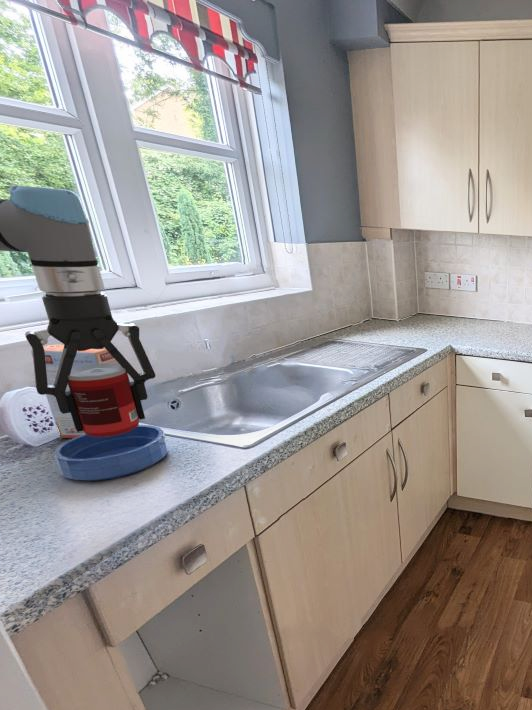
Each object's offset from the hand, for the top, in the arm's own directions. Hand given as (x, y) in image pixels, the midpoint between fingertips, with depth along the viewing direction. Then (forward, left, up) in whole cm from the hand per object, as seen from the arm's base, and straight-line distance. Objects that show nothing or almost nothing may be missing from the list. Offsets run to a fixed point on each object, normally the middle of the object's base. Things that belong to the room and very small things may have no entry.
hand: (111, 422), depth 81 cm
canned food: (0, 0, -1) cm, 1 cm away
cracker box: (-7, +32, -14) cm, 36 cm away
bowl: (-3, +14, -14) cm, 20 cm away
